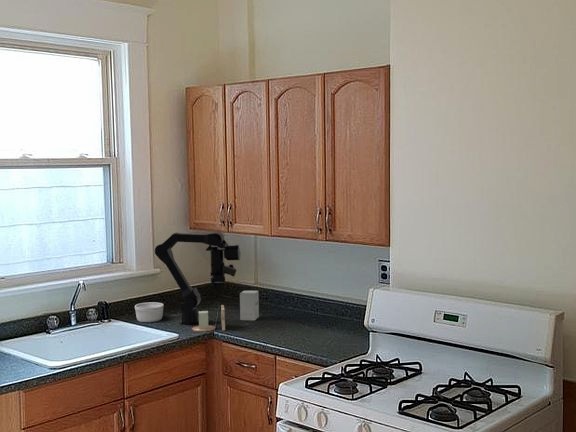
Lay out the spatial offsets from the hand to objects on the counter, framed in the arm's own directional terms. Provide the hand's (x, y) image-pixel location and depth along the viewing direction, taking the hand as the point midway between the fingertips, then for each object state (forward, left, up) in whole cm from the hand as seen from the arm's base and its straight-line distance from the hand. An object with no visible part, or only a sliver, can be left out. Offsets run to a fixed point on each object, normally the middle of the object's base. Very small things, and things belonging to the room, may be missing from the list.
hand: (218, 294), depth 336 cm
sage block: (-1, -11, -13) cm, 17 cm away
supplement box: (+9, +13, -13) cm, 21 cm away
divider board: (+6, -7, -13) cm, 16 cm away
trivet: (-1, -11, -13) cm, 17 cm away
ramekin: (-35, -3, -13) cm, 38 cm away
